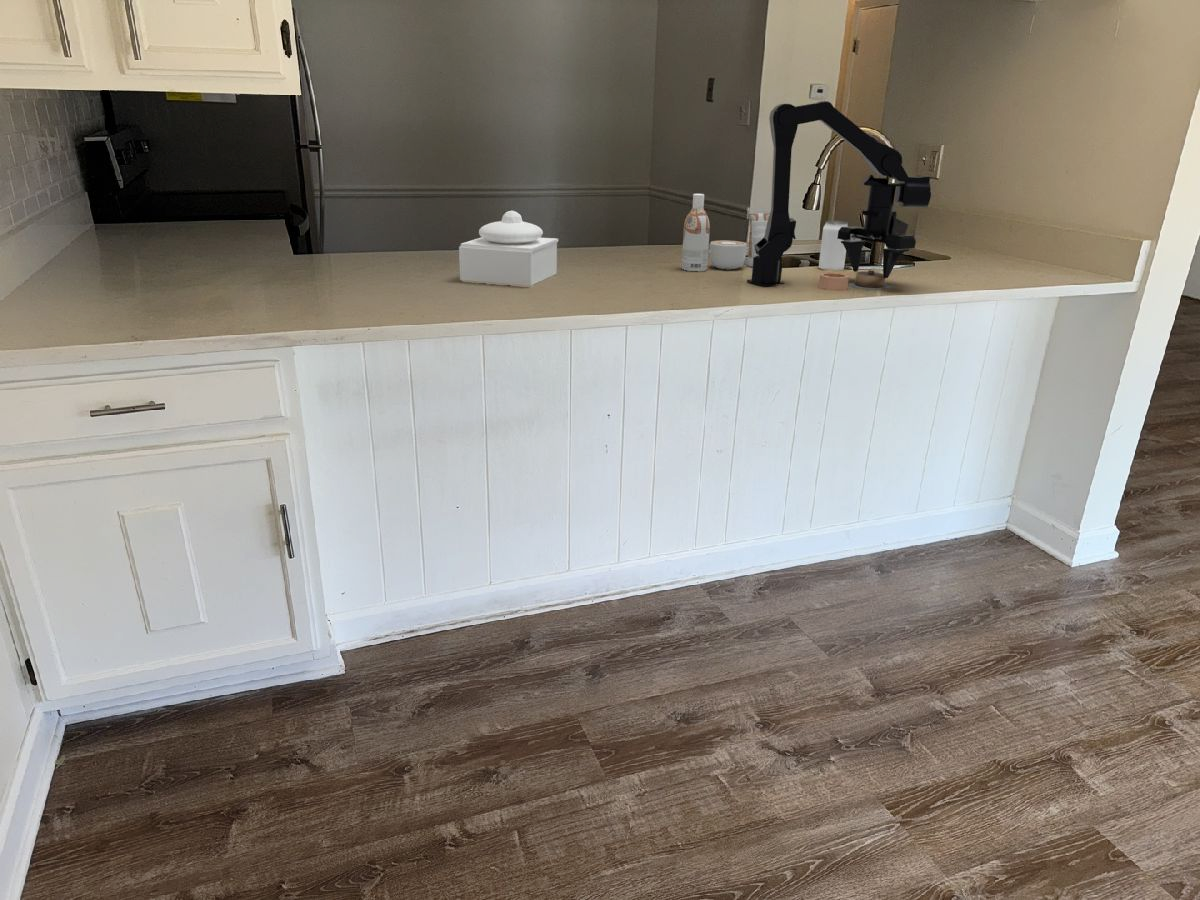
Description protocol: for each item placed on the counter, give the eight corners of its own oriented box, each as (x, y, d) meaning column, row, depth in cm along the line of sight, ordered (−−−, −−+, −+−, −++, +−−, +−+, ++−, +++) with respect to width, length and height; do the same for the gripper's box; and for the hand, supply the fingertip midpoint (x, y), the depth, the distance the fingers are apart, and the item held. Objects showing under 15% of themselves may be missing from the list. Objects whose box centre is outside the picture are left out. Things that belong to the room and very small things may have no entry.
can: (844, 271, 220) (850, 224, 216) (818, 270, 221) (824, 223, 217) (842, 267, 226) (848, 221, 222) (818, 266, 227) (823, 220, 223)
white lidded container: (460, 282, 197) (457, 211, 191) (492, 270, 213) (490, 204, 207) (531, 288, 192) (530, 216, 186) (558, 275, 208) (558, 208, 202)
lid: (870, 289, 197) (872, 274, 196) (848, 283, 202) (850, 269, 201) (889, 286, 200) (892, 272, 199) (868, 281, 206) (870, 267, 204)
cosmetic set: (757, 263, 230) (763, 191, 223) (776, 269, 222) (783, 194, 215) (674, 267, 221) (678, 192, 214) (691, 274, 213) (696, 196, 206)
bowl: (832, 292, 194) (834, 278, 193) (812, 287, 199) (814, 274, 198) (852, 290, 197) (854, 276, 196) (832, 285, 202) (833, 272, 201)
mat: (867, 291, 196) (867, 290, 196) (841, 285, 202) (841, 284, 202) (896, 288, 201) (897, 286, 201) (870, 282, 207) (870, 280, 207)
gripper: (937, 209, 191) (925, 278, 197) (872, 201, 206) (864, 266, 212) (903, 211, 186) (892, 282, 192) (840, 202, 200) (831, 269, 206)
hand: (870, 274), depth 200 cm, fingers open, 9 cm apart
